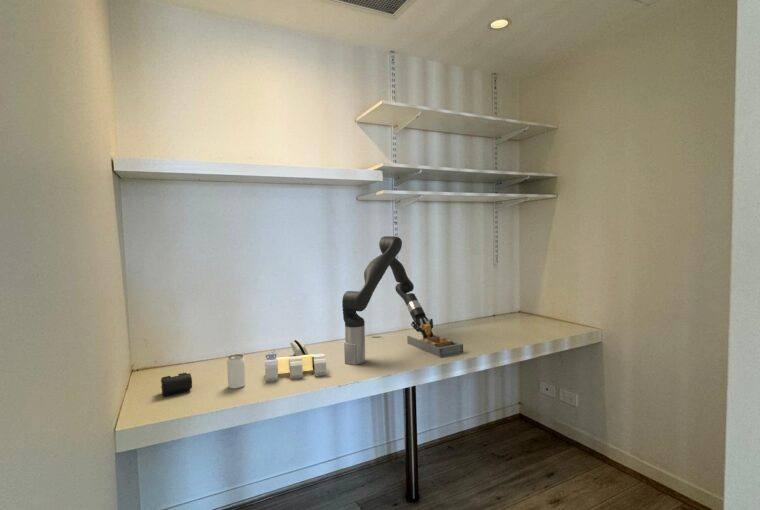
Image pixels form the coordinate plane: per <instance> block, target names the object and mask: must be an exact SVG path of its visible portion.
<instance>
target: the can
mask: <svg viewBox="0 0 760 510" xmlns="http://www.w3.org/2000/svg"><path fill="white" fill-rule="evenodd" d="M227 358H228V359H227V361H226V362H227V363H226V365H227V367H226V368H227V386H228V388H229V389H231V390H233V389H234V390H238V389H241V388H243V387H245V385H246V367H245V365H246V364H245V358H244V355H243V354H232V355H229V356H228V357H227Z"/></svg>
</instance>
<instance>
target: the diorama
mask: <svg viewBox="0 0 760 510" xmlns="http://www.w3.org/2000/svg"><path fill="white" fill-rule="evenodd" d="M277 355H278V354H277V353H276V350H271V351H270V352H269V353H268V354H265V359H264V375H265V379H264V380H265V382H273V381H279V375H280V374H287V373H289V374H290V379H291V380H293V379H299V378H303V372H306V371H307V372H308V371H314V374H313V375H314V377H319V376H327V360H326V355H325V353H314V354H309V355H302V356H296V355H294V356H283V357H277Z"/></svg>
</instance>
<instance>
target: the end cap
mask: <svg viewBox="0 0 760 510" xmlns="http://www.w3.org/2000/svg"><path fill="white" fill-rule="evenodd" d="M160 382H161V386H160V388H161V395H162V396H163V397H166V396H171V395H176V394H181V393H185V392H188V391H189V392H190V391H191V390H192V389H193V377H192V374H191V373H187V372H182V373H178V374H177V375H176V376H171V375H167V376H163V377H161V379H160Z"/></svg>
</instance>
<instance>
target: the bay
mask: <svg viewBox="0 0 760 510" xmlns="http://www.w3.org/2000/svg"><path fill="white" fill-rule="evenodd" d="M432 337H438V335H436V334H433V336H432ZM432 337H431V338H432ZM406 340H407V341H406V342H407V344H408V345H411V346H413V347H415V348H418V349H420V350H422V351H425V352H427V353H429V354H430V355H431V354H432V355H433V356H436V357H438V358H445V357H449V356H455V355H460V354H464V343H458V342H456V341H453V345H451V346H445V347H440V348H439V347H436V346H434V345H431V344H429V343H426V342H424V341H423V338H420V339H419V338H416V337H413V336H410V335H406Z"/></svg>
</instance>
